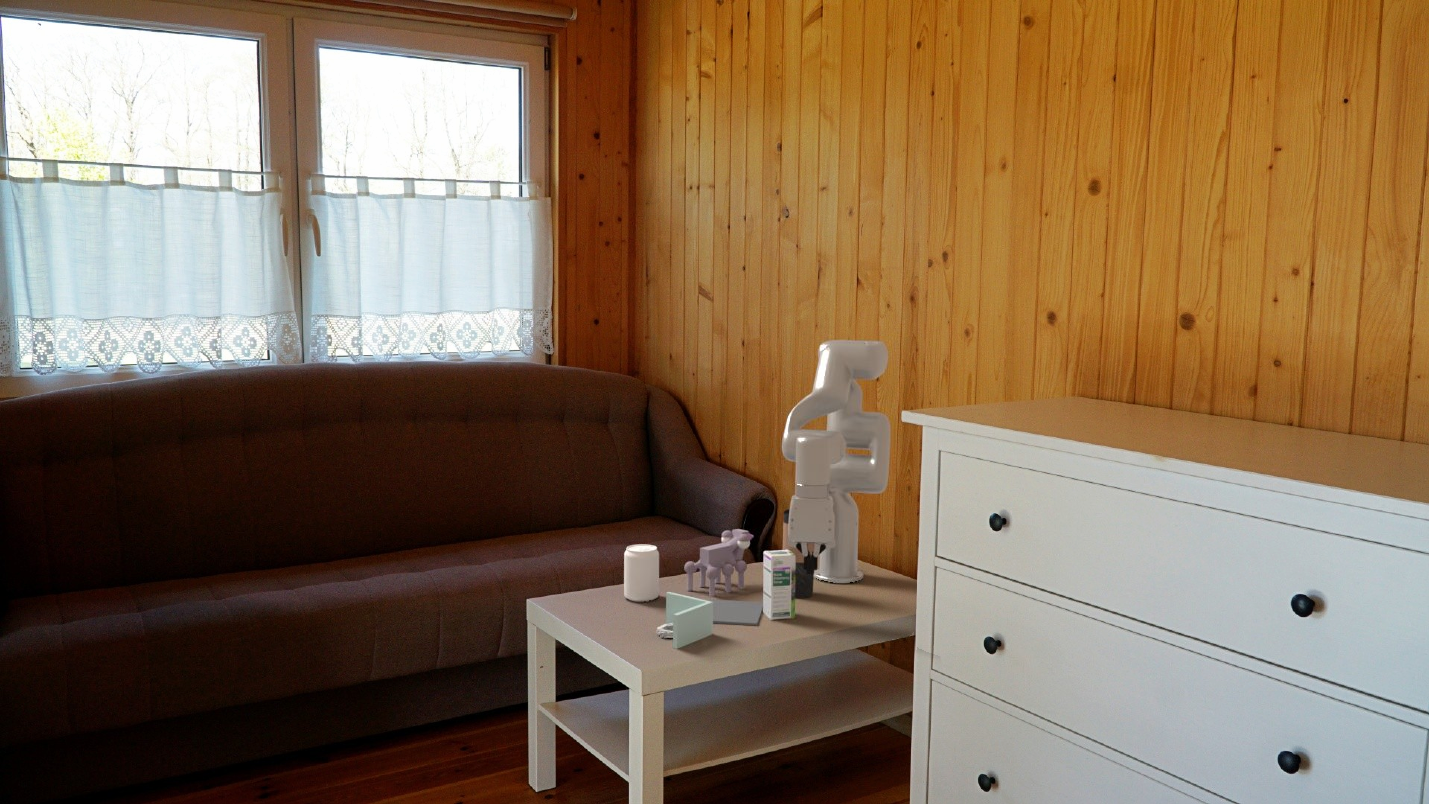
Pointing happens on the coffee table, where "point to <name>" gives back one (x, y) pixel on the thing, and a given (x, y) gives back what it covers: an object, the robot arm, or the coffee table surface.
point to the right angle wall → (686, 619)
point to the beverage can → (641, 572)
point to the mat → (736, 612)
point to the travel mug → (799, 564)
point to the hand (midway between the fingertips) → (810, 572)
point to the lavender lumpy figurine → (721, 561)
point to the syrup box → (779, 584)
